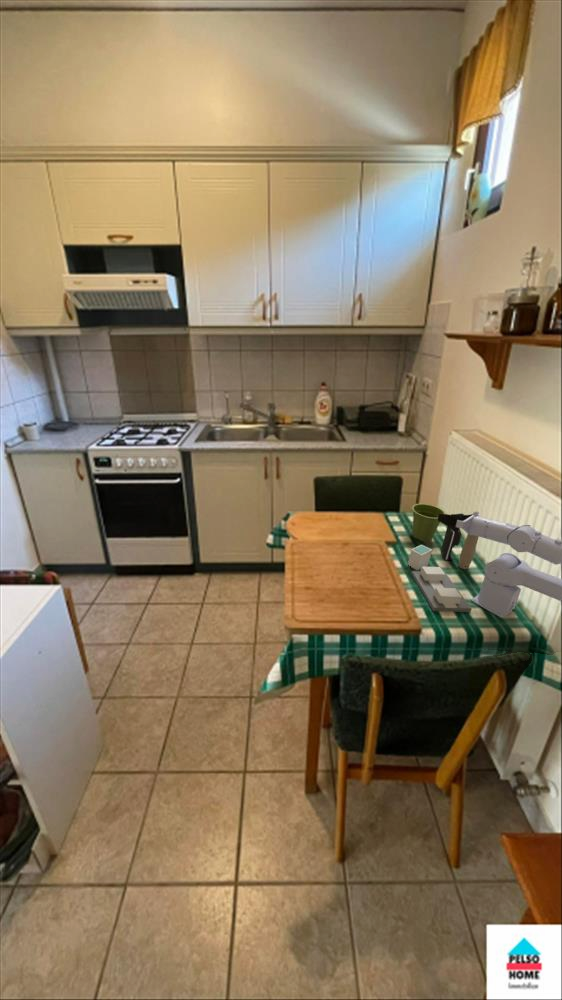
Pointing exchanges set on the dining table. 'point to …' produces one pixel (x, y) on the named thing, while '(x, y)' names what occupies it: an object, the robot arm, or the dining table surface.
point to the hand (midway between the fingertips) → (445, 517)
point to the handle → (468, 551)
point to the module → (419, 557)
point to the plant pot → (425, 521)
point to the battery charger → (450, 542)
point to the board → (431, 594)
